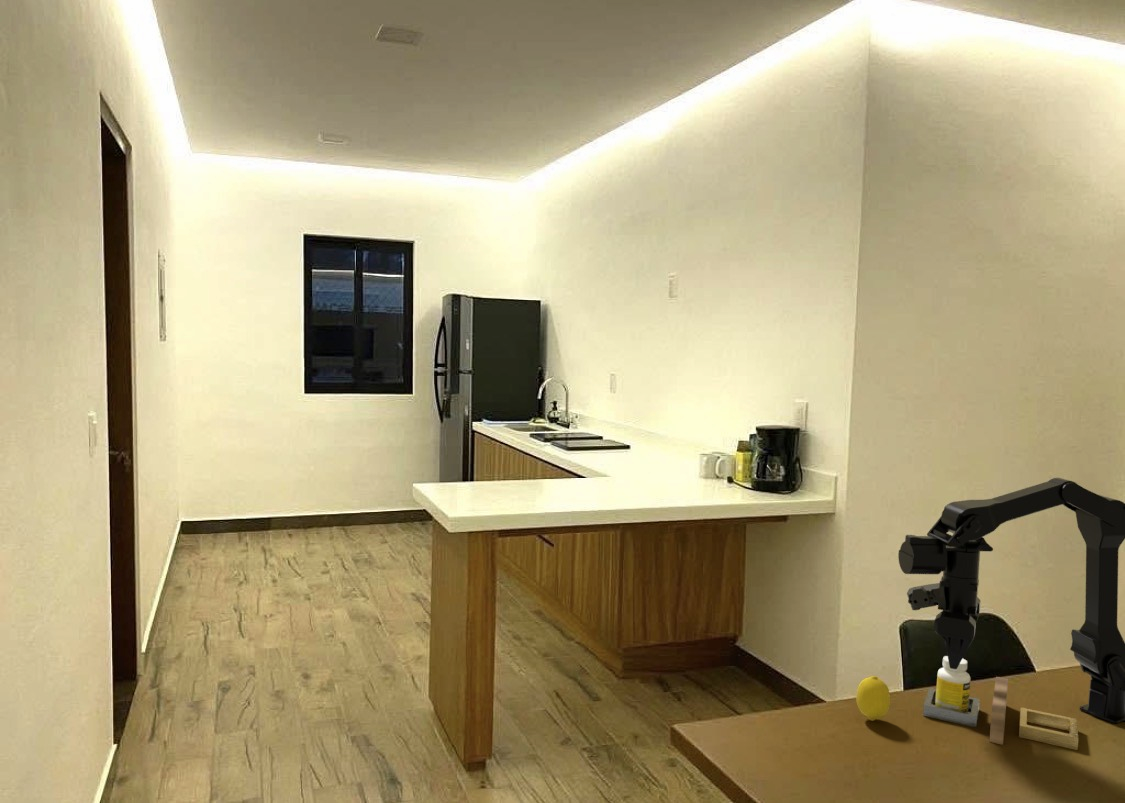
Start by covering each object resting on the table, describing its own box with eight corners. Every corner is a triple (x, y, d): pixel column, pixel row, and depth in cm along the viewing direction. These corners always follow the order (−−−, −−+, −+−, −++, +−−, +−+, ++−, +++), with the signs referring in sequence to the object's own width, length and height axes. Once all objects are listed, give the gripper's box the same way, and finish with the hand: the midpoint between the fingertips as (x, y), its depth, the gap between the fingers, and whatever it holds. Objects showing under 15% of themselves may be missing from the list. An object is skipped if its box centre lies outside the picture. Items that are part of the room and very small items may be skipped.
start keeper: (928, 698, 158) (929, 688, 158) (979, 709, 154) (979, 698, 154) (923, 715, 151) (923, 704, 151) (976, 727, 147) (976, 716, 147)
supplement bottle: (966, 722, 149) (969, 667, 148) (932, 714, 152) (936, 660, 151) (969, 711, 153) (973, 658, 153) (937, 703, 156) (940, 651, 156)
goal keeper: (1019, 718, 151) (1020, 707, 151) (1075, 730, 147) (1076, 718, 147) (1018, 737, 144) (1019, 725, 143) (1077, 750, 139) (1078, 738, 139)
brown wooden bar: (994, 703, 157) (995, 676, 157) (1006, 705, 156) (1008, 679, 156) (989, 741, 142) (991, 712, 141) (1002, 744, 141) (1004, 715, 140)
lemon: (891, 729, 145) (894, 683, 144) (857, 725, 146) (860, 680, 146) (885, 715, 150) (888, 671, 150) (853, 712, 152) (855, 668, 151)
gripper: (918, 556, 163) (913, 636, 164) (905, 579, 146) (900, 667, 148) (982, 565, 157) (977, 647, 158) (976, 590, 141) (971, 681, 142)
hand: (955, 660), depth 152 cm, fingers open, 9 cm apart
